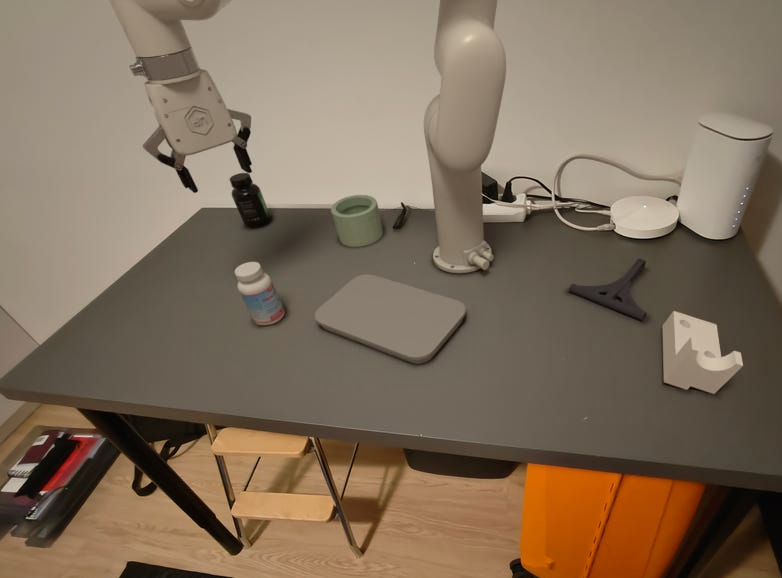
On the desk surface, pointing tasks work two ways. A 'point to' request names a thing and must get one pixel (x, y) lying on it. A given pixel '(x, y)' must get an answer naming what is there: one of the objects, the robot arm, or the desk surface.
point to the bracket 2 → (695, 354)
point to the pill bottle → (259, 294)
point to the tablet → (392, 317)
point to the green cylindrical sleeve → (357, 220)
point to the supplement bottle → (249, 201)
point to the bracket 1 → (615, 293)
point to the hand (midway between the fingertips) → (221, 180)
